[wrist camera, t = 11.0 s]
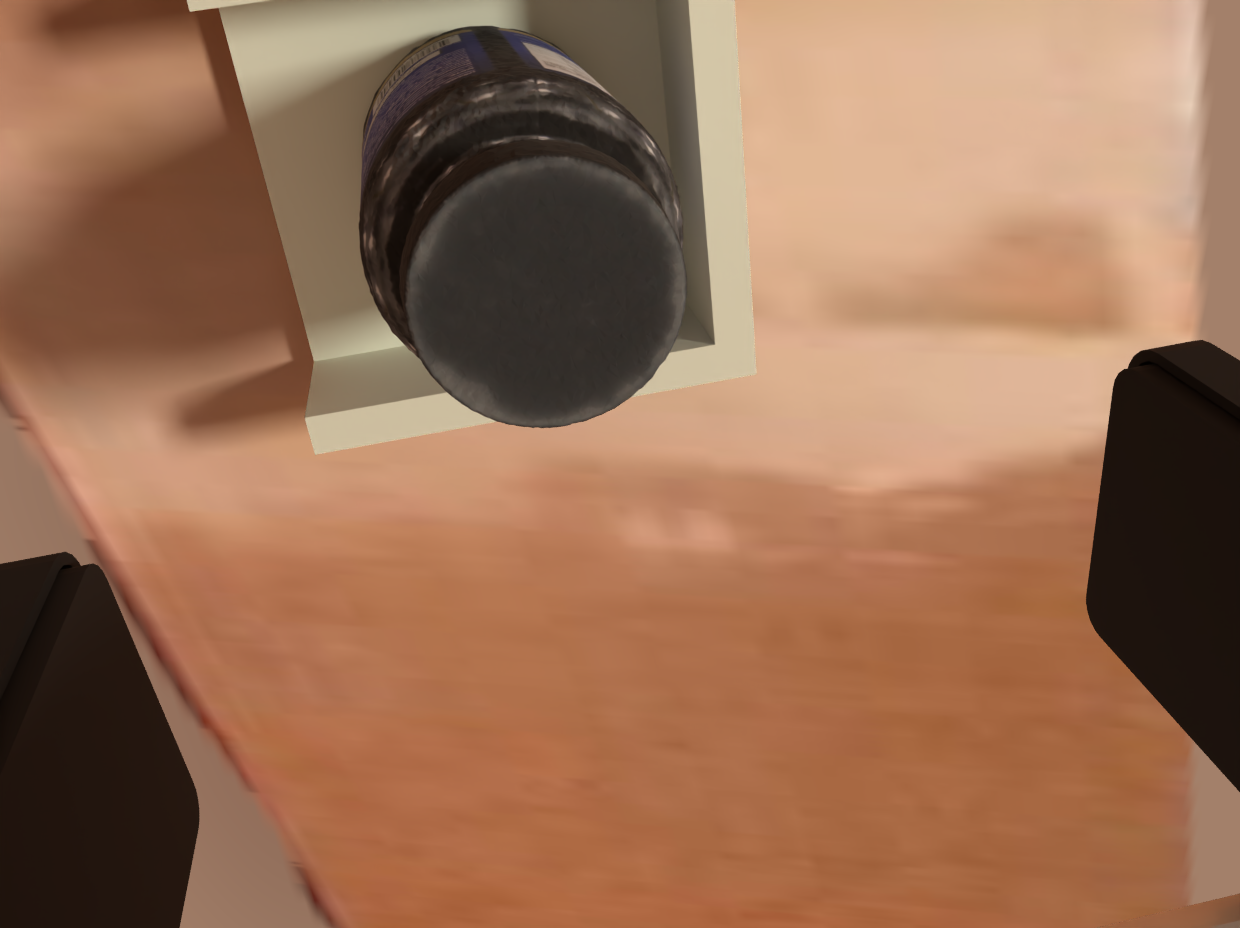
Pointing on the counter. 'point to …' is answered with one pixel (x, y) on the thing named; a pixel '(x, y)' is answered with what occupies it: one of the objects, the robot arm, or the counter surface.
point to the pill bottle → (519, 228)
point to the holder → (332, 166)
